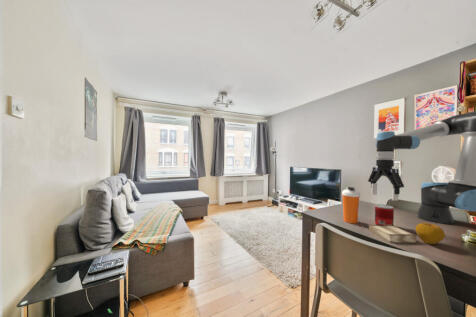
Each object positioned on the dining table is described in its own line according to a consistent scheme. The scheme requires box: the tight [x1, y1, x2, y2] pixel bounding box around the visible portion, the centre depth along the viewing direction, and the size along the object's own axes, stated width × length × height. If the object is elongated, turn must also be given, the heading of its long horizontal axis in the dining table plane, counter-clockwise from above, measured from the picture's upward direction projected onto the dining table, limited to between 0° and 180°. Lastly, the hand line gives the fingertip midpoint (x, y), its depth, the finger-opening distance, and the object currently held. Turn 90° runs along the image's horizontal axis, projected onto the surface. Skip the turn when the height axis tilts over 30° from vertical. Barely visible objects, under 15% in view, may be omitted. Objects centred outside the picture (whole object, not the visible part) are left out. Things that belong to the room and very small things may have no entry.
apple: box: [415, 222, 446, 245], centre depth 77 cm, size 9×9×9 cm
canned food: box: [374, 203, 395, 225], centre depth 97 cm, size 8×8×11 cm
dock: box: [368, 224, 417, 243], centre depth 84 cm, size 12×12×3 cm
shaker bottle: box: [341, 186, 361, 225], centre depth 103 cm, size 9×9×20 cm
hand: (383, 197), depth 97 cm, fingers open, 13 cm apart
